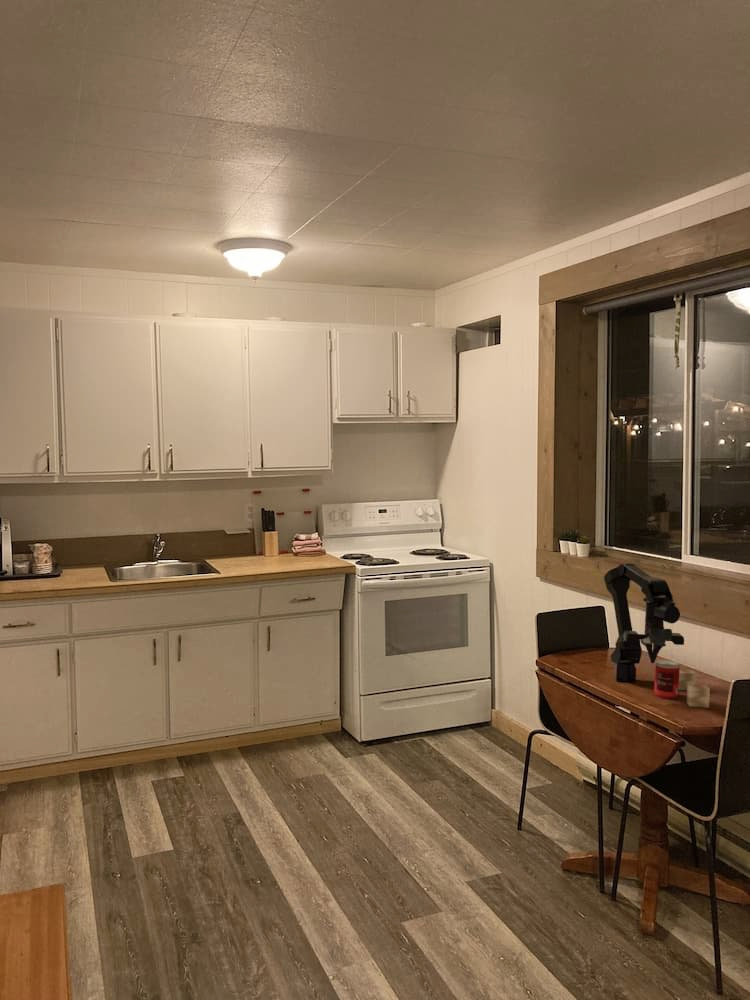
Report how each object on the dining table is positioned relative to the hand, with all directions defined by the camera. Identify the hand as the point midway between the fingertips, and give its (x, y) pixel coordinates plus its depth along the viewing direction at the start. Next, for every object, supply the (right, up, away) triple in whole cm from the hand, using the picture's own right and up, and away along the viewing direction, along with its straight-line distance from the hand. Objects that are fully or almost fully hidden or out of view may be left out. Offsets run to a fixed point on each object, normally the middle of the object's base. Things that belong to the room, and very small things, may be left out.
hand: (652, 663), depth 281 cm
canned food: (+5, -11, 0) cm, 12 cm away
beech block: (+12, -12, -10) cm, 19 cm away
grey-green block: (+14, -10, +8) cm, 19 cm away
